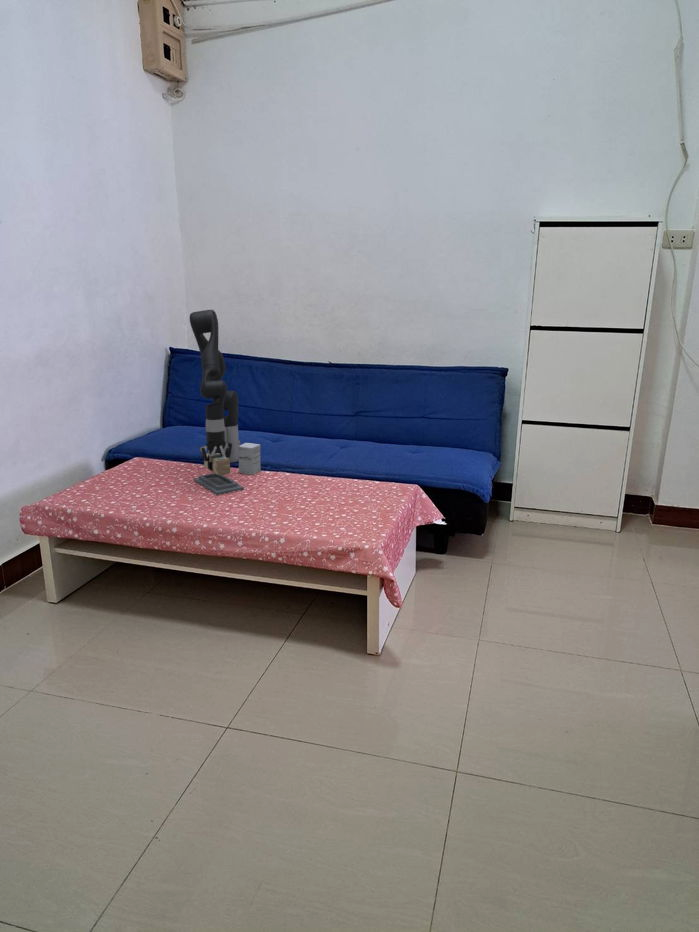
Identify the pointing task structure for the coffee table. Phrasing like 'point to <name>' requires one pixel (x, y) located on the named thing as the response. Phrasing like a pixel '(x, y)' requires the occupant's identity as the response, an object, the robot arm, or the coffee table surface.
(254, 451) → the supplement box
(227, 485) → the grey rectangular framed panel
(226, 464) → the oak frame
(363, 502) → the coffee table surface
